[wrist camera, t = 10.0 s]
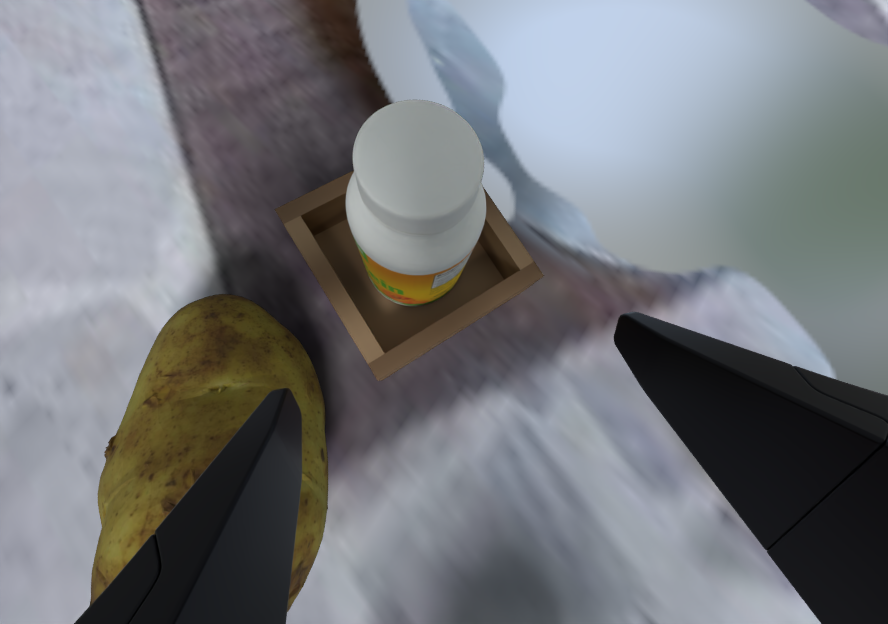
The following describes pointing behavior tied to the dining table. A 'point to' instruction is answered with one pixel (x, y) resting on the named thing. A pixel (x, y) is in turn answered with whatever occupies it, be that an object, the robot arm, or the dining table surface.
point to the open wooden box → (383, 321)
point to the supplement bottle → (416, 199)
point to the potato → (206, 426)
